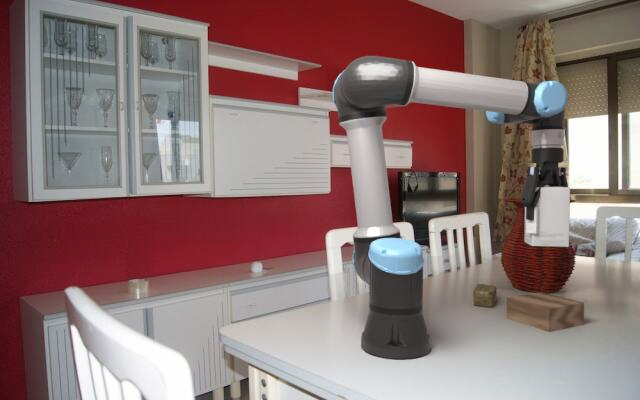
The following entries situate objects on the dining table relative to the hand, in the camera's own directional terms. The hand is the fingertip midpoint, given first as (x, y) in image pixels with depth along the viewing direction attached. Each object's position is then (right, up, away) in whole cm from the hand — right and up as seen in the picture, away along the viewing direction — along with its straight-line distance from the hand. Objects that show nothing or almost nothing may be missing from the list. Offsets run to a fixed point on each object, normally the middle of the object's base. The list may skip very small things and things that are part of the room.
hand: (546, 231), depth 128 cm
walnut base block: (0, -24, +1) cm, 24 cm away
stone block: (-9, -23, +20) cm, 32 cm away
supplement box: (0, -4, 0) cm, 4 cm away
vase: (+15, -22, +39) cm, 47 cm away
